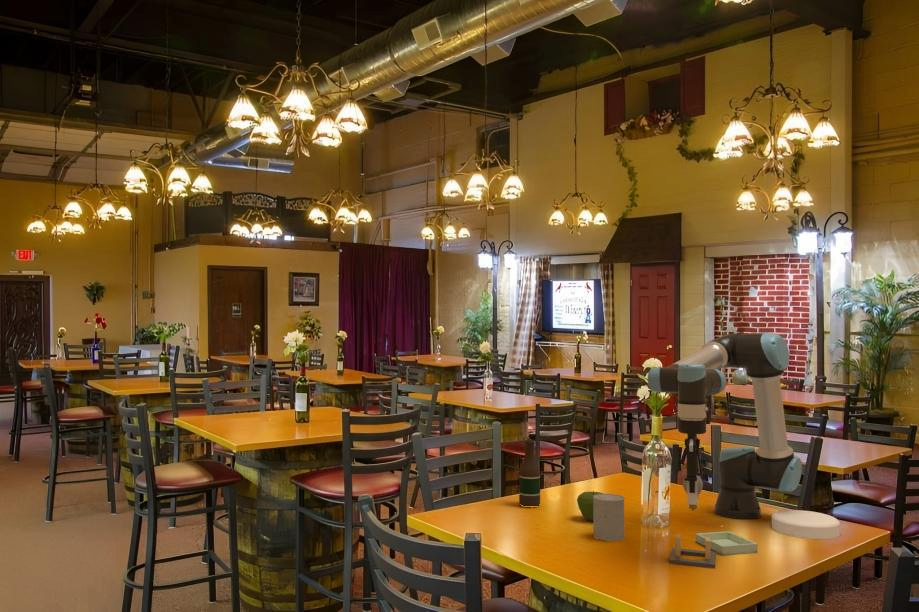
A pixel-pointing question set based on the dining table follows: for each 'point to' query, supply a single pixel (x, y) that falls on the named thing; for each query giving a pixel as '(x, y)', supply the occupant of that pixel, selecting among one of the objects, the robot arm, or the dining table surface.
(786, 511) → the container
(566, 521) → the dining table surface
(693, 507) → the light bulb
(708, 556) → the frame
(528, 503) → the beer bottle
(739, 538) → the parts tray
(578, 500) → the apple
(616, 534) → the gray cylinder
